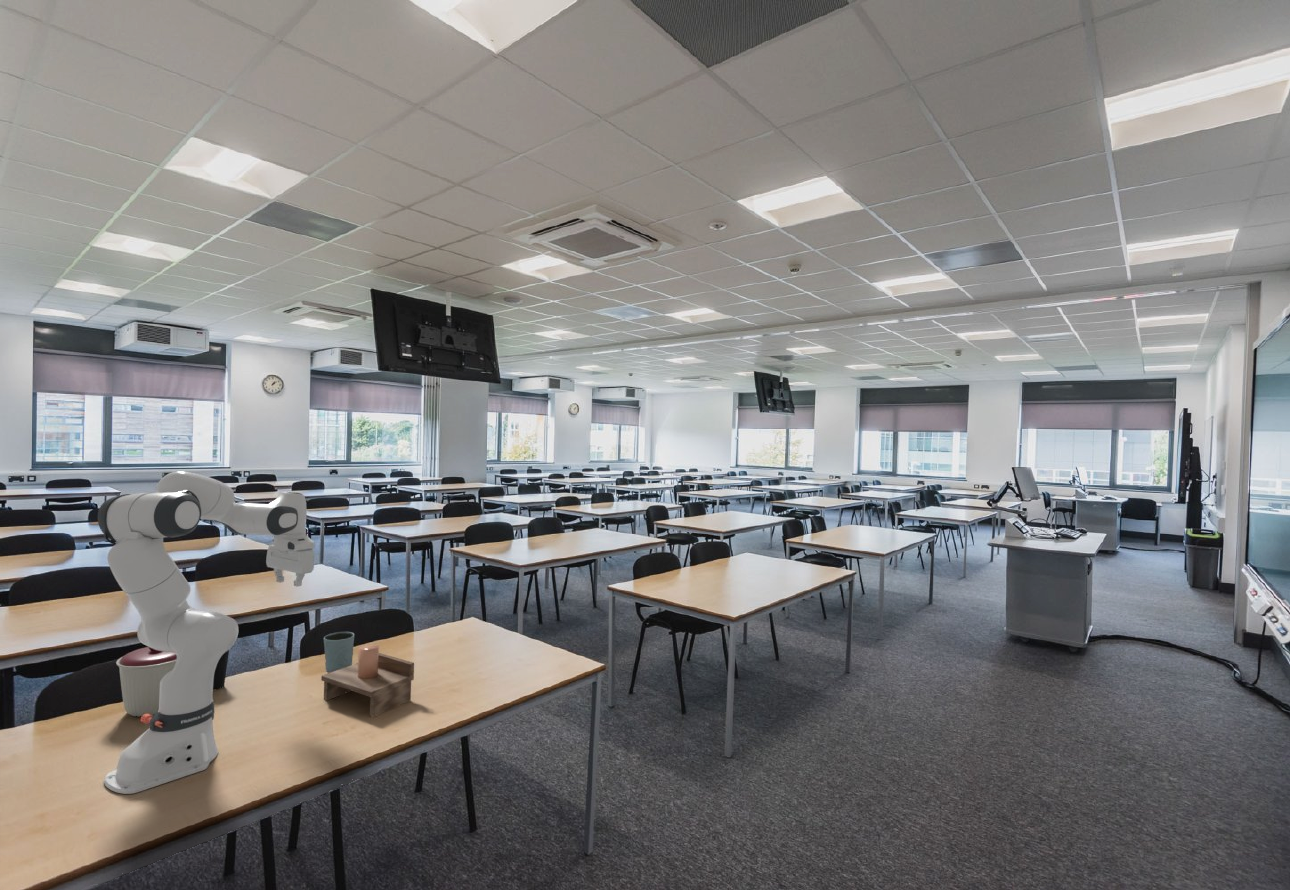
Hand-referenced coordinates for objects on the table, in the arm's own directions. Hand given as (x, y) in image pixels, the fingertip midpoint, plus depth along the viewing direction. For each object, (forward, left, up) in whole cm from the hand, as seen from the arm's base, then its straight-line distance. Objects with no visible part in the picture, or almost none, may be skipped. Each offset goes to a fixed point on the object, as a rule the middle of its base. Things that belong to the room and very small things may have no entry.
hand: (288, 584), depth 192 cm
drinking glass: (+25, +9, -37) cm, 46 cm away
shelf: (+13, -23, -37) cm, 45 cm away
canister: (-25, +25, -37) cm, 51 cm away
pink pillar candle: (+13, -23, -29) cm, 39 cm away
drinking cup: (-7, +27, -37) cm, 47 cm away
